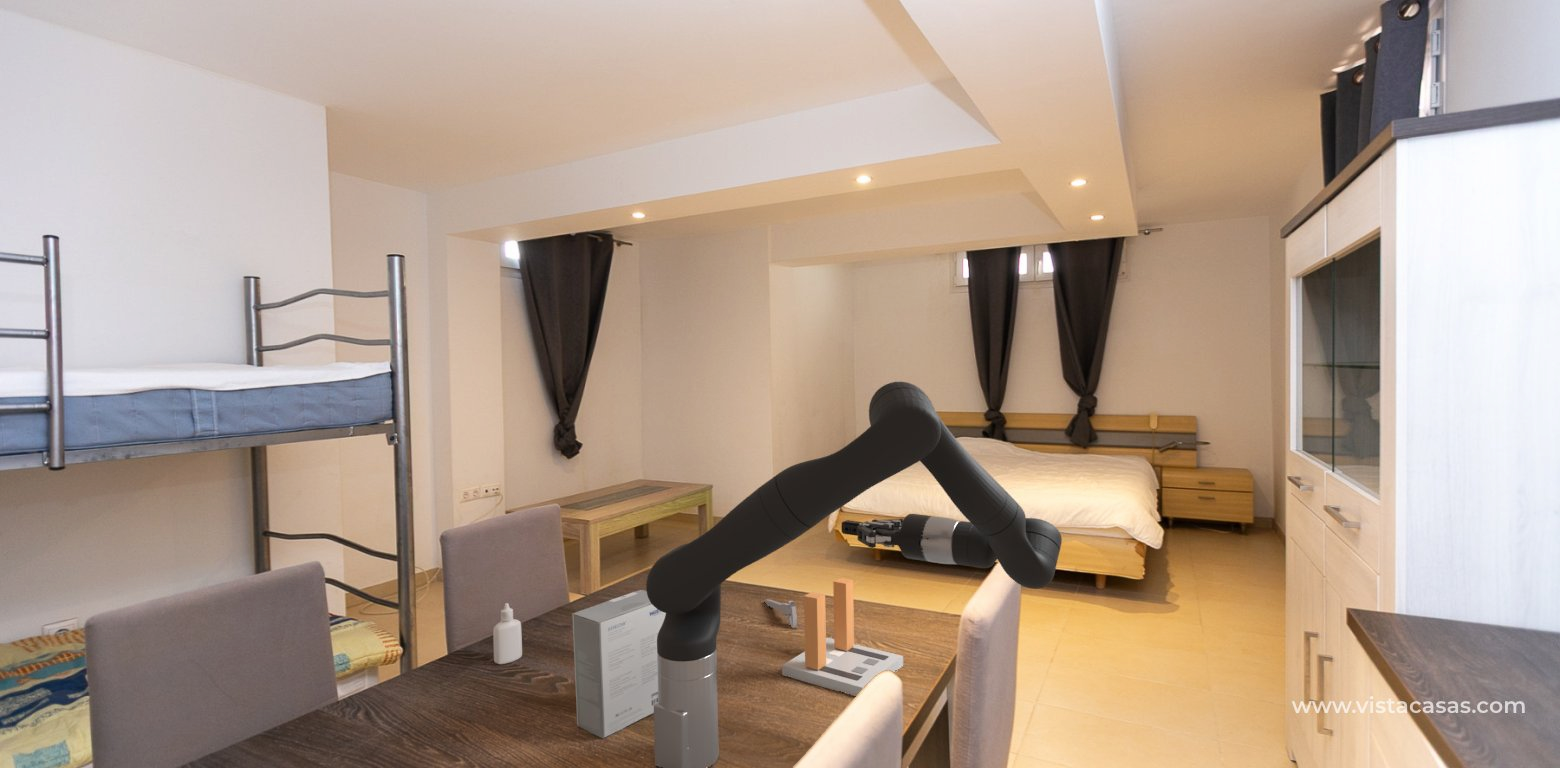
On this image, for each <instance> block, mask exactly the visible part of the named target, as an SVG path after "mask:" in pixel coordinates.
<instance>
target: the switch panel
mask: <svg viewBox="0 0 1560 768" xmlns="http://www.w3.org/2000/svg"><path fill="white" fill-rule="evenodd" d="M903 667H904V655H901V654H896V653H892V652H888V651H885V650H880V649H876V648H872V647H868V646H864V645H860V644H855V643H854V647H852V648H851V649H849V650H848V651H844V650H840V649H836V648H834V638H831V637H826V665H825V666H824V667H822V668H821V669H819V670H815V669H812V668H808V667H805V651H803V652H801V653H800V654H798V655H796V656H795V657H793V658H791V659H790V660H788V661H787V662H785V663H784V664H782V668H781V670H782V676H785V677H787V676H788V678H790V677H791V679H795V680H798V681H802V682H805V683H808V684H812V685H815V686H818V687H821V688H825V689H829V690H832V691H836V692H839V691H841V692H840V693H842V692H846V693H849V694H852V695H851V696H854V697H856V695H857V694H858V693H859V692H860V691H861V690H862V689H863V688H864V686H865V685H866V684H867V683H868V682H869V681H870V680H871V679H872V678H873V677H874V676H875V675H877V674H878V673H880V672H882V671H885V670H891V671H893V672H895V670H897V671H899V670H900V669H901V668H903ZM898 669H899V670H898ZM895 673H896V672H895ZM846 693H845V694H846ZM849 694H848V695H849Z"/></svg>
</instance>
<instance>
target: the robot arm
mask: <svg viewBox="0 0 1560 768" xmlns="http://www.w3.org/2000/svg"><path fill="white" fill-rule="evenodd" d="M868 419H869V420H868V421H869V425H870V426H869V427H868V428H867V429H866V430H865V431H863V432H862V433H861V434H860V435H858V436H857V437H856V438H855V439H853V440H852V441H851V442H850V443H848V444H847V445H845V446H844V447H842V448H841V449H839V450H836V452H834V453H831V454H829V455H827V456H822V457H820V458H815V459H814V458H813V459H810V460H806V461H802V462H799V463H796V464H793V465H791V466H789V467H787V468H785V469H783V470H781V471H780V472H779V473H777V474H776V475H775V476H773V477H771V479H769V480H768V481H766V482H764V483H763V484H762V485H760V486H759V487H758V488H756V490H754V491H753V492H752V493H750V494H749V495H748V496H746V497H745V498H744V499H743V500H742V501H741V502H740V503H738V504H737V505H736V506H734V508H733V509H731V510H730V511H729V512H728V513H727V514H726V515H725V516H724V517H723V518H722V519H721V520H719V521H718V522H717V523H715V525H714V526H712V527H711V528H709V530H707V531H706V532H705V533H704V534H701V535H700V536H699V537H697V538H696V539H694V540H692V541H690V542H687V543H685V544H681V545H679V546H676V547H675V548H674V549H672V550H671V551H669V552H667V553H666V554H664V555H662V556H660V558H658V559H657V560H656V561H655V563H654V564H653V565H652V567H651V568H650V569H649V572H648V574H647V575H648V576H647V578H646V584H645V586H646V589H645V591H647V596H648V598H649V600H650V602H651V604H652V605H653V606H654V607H655V608H657V609H658V610H660V611H662V612H664V613H666V615H665V619H664V621H663V624H662V626H661V628H660V630H659V633H658V636H657V665H658V703H656V704H655V705H654V713H653V728H654V729H653V730H654V731H653V732H654V733H653V734H654V735H653V736H654V739H653V740H654V766H657V767H659V768H661V767H663V768H706V767H709V766H711V765H712V764H713V765H715V764H716V763H717V761H718V760H719V755H720V752H719V749H720V747H719V745H720V744H719V722H718V721H719V714H718V713H719V709H718V673H717V672H718V670H717V669H718V665H717V664H718V663H717V662H718V661H717V658H718V657H717V638H718V633H719V629H720V626H721V612H722V611H721V607H722V606H721V603H722V600H721V599H722V583H724V582H725V581H726V580H728V579H729V578H731V576H733V575H734V574H736V573H737V572H739V571H741V570H742V569H744V568H746V567H748V566H750V565H752V564H754V563H756V562H758V561H760V560H761V559H764V558H765V557H767V556H769V555H771V554H773V553H774V552H777V551H778V550H779V549H781V548H783V547H785V546H786V545H787V544H790V543H792V541H794V540H796V539H797V538H799V537H801V536H802V535H804V534H805V533H806V532H808V531H809V530H810V529H812V528H814V527H815V526H816V525H818V524H819V523H820V522H821V521H823V520H824V519H826V518H827V517H828V516H830V515H832V514H833V513H834V512H836V511H838V510H839V509H841V508H842V507H844V506H845V505H847V504H848V503H849V502H851V501H853V500H854V499H855V498H857V497H858V496H860V495H862V494H863V493H864V492H866V491H867V490H869V489H871V488H872V487H874V486H876V485H878V484H880V483H881V482H884V481H886V480H887V479H889V478H891V477H892V476H895V475H896V474H898V473H900V472H902V471H904V470H906V469H908V468H910V467H911V466H913V465H915V464H916V463H919V462H920V463H921V464H922V465H923V466H924V467H925V468H926V470H928V471H929V473H930V474H931V476H933V478H934V479H935V481H937V482H938V483H937V484H939V485H940V487H941V489H942V490H943V491H944V492H945V494H946V496H948V498H949V499H950V500H951V502H952V503H953V504H954V506H955V507H956V508H957V510H959V512H960V513H961V515H963V516H964V517H965V518H966V519H967V520H968V521H964V520H958V519H954V518H950V517H943V516H935V515H926V514H918V513H909V514H907V515H906V516H905V517H904V518H895V519H894V518H892V519H875V518H874V519H871V521H870V520H864V521H858V520H857V521H856V520H848V519H847V520H844V521H842V522H841V533H842V534H843V535H850V536H857V541H859V542H860V543H861V544H864V545H865V546H866V547H868V548H873V549H874V548H876V547H877V545H883V547H886V548H895V546H897V547H898V548H899V550H900V553H901V554H902V556H904V557H905V558H906V559H910V560H916V561H917V560H918V561H922V562H928V563H929V562H930V563H935V564H936V563H937V564H941V565H942V564H943V565H960V566H967V567H971V568H978V569H988V568H991V567H992V566H993V565H994V564H995V563H996V561H998V563H999V564H1000V566H1001V568H1002V569H1003V571H1004V572H1005V573H1006V574H1007V575H1008V577H1009V578H1010V579H1011V580H1013V581H1014V583H1016V584H1018V585H1020V586H1022V587H1025V588H1026V589H1032V590H1038V589H1042V588H1045V587H1047V586H1049V585H1050V583H1051V582H1052V581H1053V579H1054V576H1055V572H1056V568H1057V563H1058V559H1059V556H1060V555H1059V554H1060V551H1061V547H1062V541H1063V540H1062V539H1063V538H1062V535H1061V532H1060V531H1059V529H1058V528H1057V527H1056V526H1054V525H1053V524H1052V523H1050V522H1049V521H1046V520H1043V519H1041V518H1036V517H1035V518H1033V517H1026V514H1025V510H1024V509H1023V508H1022V507H1021V505H1020V504H1019V503H1018V502H1017V501H1016V500H1015V499H1014V498H1013V496H1012V495H1011V494H1009V492H1008V491H1006V489H1005V488H1004V487H1003V486H1002V485H1001V484H1000V483H999V482H998V481H997V479H995V478H994V477H993V476H992V475H991V474H990V473H989V472H988V471H987V470H986V469H985V468H984V467H983V466H982V465H981V464H980V463H979V462H978V461H977V460H976V459H975V458H974V457H973V456H972V455H971V454H970V453H969V452H968V451H967V450H966V449H965V447H964V446H963V445H962V444H961V443H960V442H959V441H958V440H957V438H956V437H955V436H954V434H953V433H952V432H951V431H950V429H949V428H948V427H947V426H946V425H945V423H944V422H943V420H942V419H941V418H940V416H939V414H938V413H937V411H936V410H935V407H934V405H933V404H932V400H931V399H930V398H929V396H928V395H927V394H926V393H925V391H923V390H922V389H921V388H920V387H919V386H917V385H915V384H912V383H910V382H906V381H892V382H889V383H886V384H883V385H882V386H881V387H879V388H878V389H877V390H876V391H875V392H874V394H873V395H872V397H871V399H870V403H869V407H868ZM713 765H712V766H713ZM712 766H711V767H712ZM709 768H710V767H709Z"/></svg>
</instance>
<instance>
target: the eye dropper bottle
mask: <svg viewBox="0 0 1560 768" xmlns="http://www.w3.org/2000/svg"><path fill="white" fill-rule="evenodd" d="M492 631H493V636H492V637H493V661H494V663H495V664H497V665H505V664H509V663H512V662H514V661H517V660H518V659H520V658H522V656H523V640H522V639H523V638H522V622H521V621H520V620H518V619H515V618H514V609H513V608H511V607H510V604H509V602H506V603H504V606H503V609H501V610H500V621H499V622H498V623H497V624H496V625H494V627H493V630H492Z"/></svg>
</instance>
